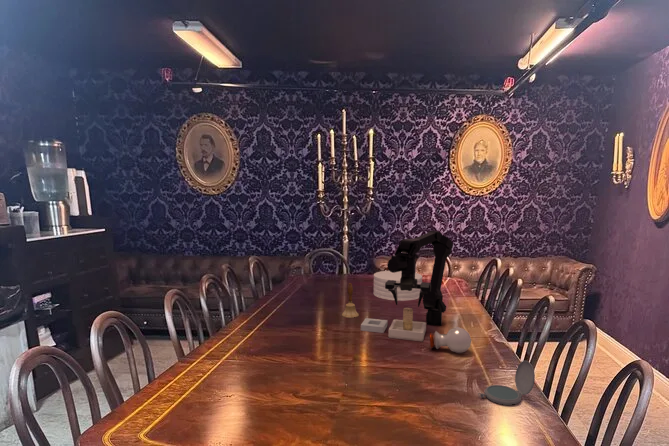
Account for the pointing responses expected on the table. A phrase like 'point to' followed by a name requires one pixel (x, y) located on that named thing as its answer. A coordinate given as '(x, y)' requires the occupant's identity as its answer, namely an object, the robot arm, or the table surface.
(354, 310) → the hand bell
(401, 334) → the tray
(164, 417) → the table surface
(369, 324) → the collar block
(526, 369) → the pocket watch
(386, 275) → the plate stack
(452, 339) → the potion bottle
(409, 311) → the brass peg
